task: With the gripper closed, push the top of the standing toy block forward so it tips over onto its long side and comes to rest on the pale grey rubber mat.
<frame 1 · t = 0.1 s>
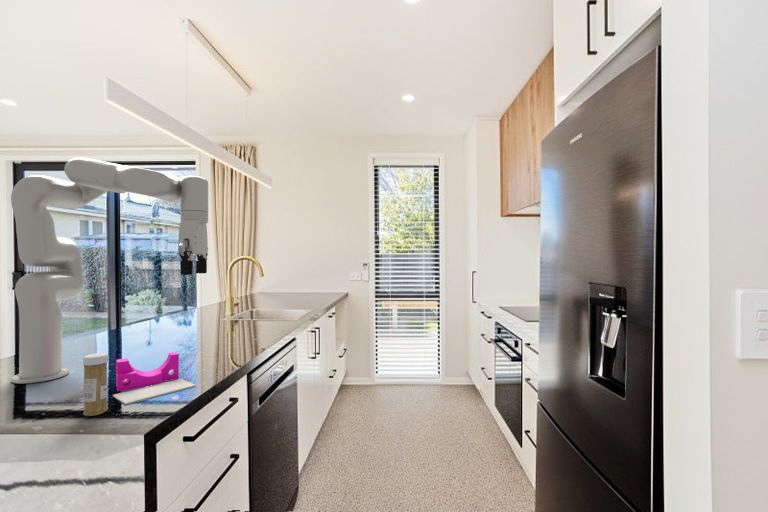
hand: (194, 273, 114), 31 cm above the worktop, tool pointing down, fingers open, 9 cm apart
sprinkles bottle: (95, 413, 87), on the worktop
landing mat: (155, 391, 101), on the worktop
toy block: (148, 384, 108), on the worktop
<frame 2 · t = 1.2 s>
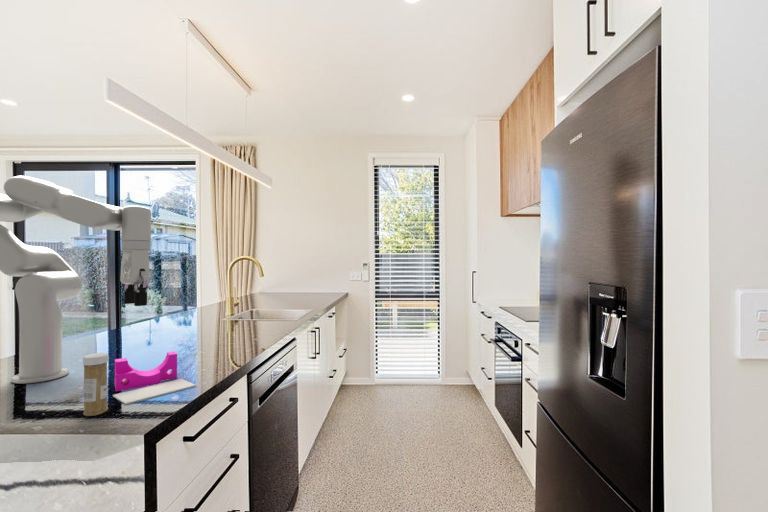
hand: (135, 304, 114), 22 cm above the worktop, tool pointing down, fingers open, 7 cm apart
nothing on the worktop moved.
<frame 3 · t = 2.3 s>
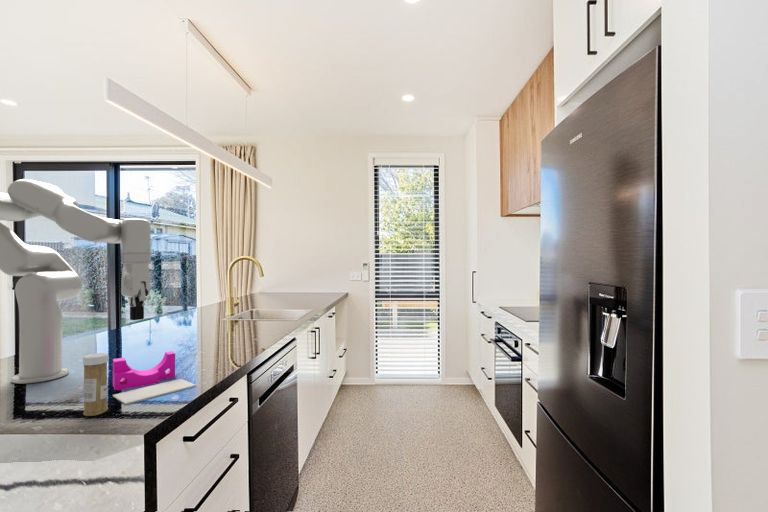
hand: (137, 319, 114), 17 cm above the worktop, tool pointing down, fingers closed
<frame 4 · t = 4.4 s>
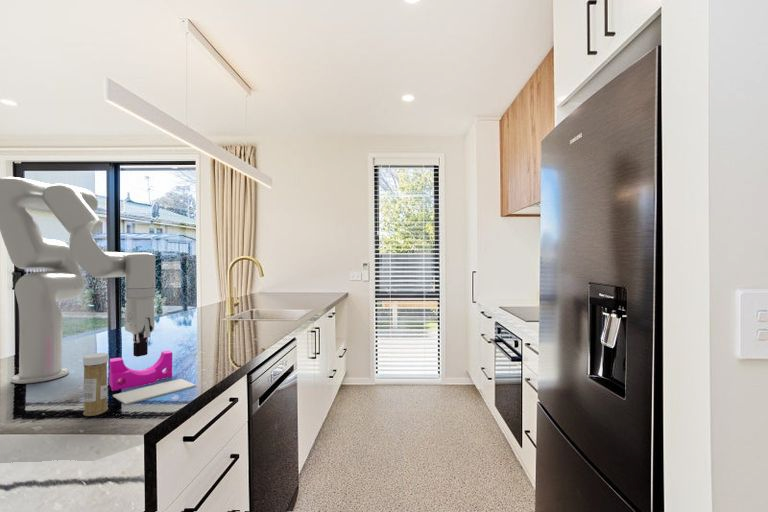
hand: (140, 355, 112), 7 cm above the worktop, tool pointing down, fingers closed
toy block: (142, 383, 109), on the worktop, touching gripper
everything else where it was.
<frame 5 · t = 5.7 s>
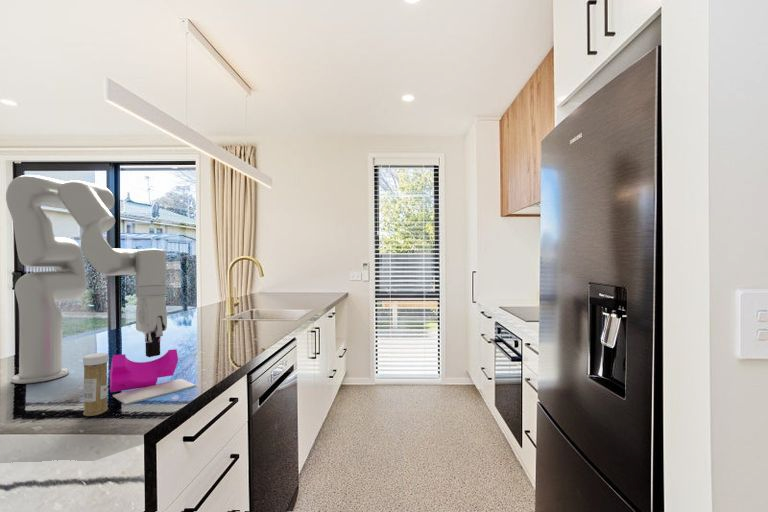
hand: (153, 355, 108), 8 cm above the worktop, tool pointing down, fingers closed
toy block: (142, 378, 106), point 2 cm above the worktop
everything else where it was.
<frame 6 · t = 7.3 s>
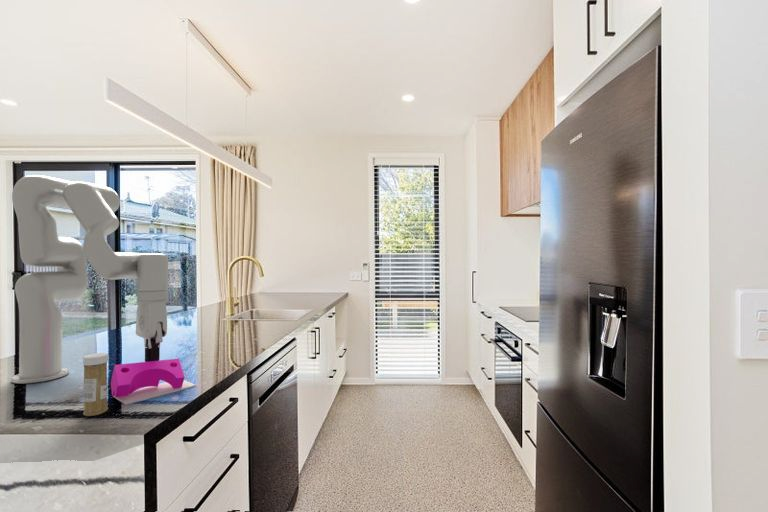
hand: (152, 361, 106), 7 cm above the worktop, tool pointing down, fingers closed
toy block: (146, 370, 103), point 5 cm above the worktop, touching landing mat
everything else where it was.
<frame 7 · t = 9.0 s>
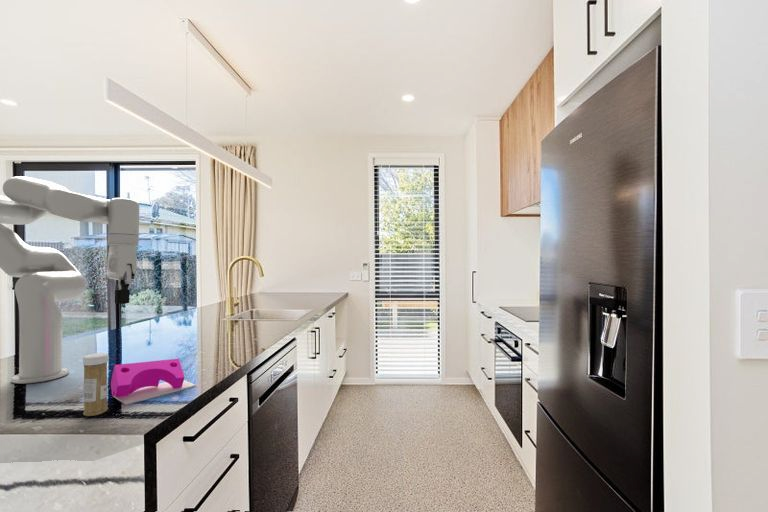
hand: (122, 303, 110), 23 cm above the worktop, tool pointing down, fingers closed
nothing on the worktop moved.
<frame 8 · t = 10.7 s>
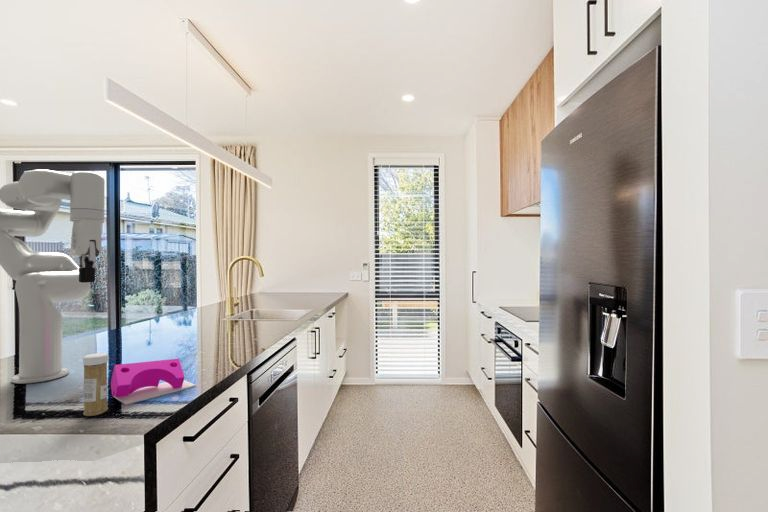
hand: (86, 282, 105), 29 cm above the worktop, tool pointing down, fingers closed
nothing on the worktop moved.
at the end: toy block tilted 120°; toy block inside the target area (2.6 cm from its centre), point 5.3 cm above the worktop; toy block touching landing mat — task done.
